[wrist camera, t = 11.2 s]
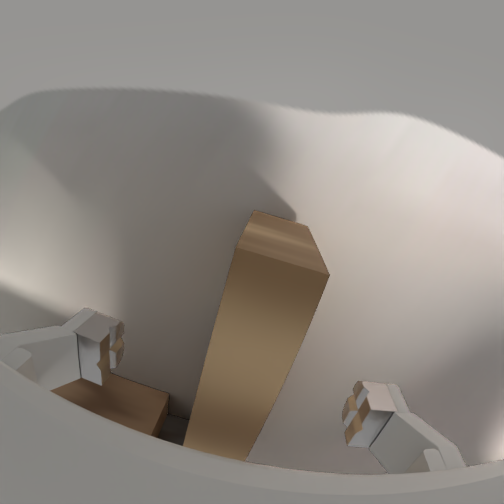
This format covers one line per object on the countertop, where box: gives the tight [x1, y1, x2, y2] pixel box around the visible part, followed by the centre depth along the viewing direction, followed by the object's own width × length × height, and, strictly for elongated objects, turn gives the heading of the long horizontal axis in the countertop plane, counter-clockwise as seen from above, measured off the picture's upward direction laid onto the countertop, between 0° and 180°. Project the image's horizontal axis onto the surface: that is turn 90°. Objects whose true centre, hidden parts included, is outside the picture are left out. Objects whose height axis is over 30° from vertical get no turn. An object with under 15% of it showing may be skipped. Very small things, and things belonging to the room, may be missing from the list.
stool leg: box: [183, 210, 330, 461], centre depth 13 cm, size 16×3×6 cm, turn 164°
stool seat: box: [50, 373, 189, 446], centre depth 16 cm, size 15×12×6 cm
